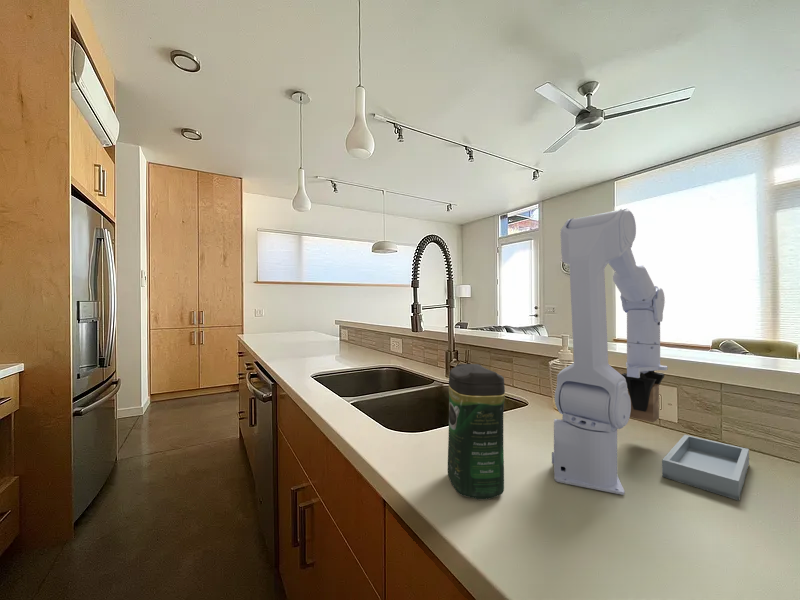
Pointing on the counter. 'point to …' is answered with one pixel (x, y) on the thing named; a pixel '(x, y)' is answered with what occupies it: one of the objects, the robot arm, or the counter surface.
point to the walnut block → (652, 408)
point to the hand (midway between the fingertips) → (643, 408)
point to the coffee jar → (476, 431)
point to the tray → (707, 465)
